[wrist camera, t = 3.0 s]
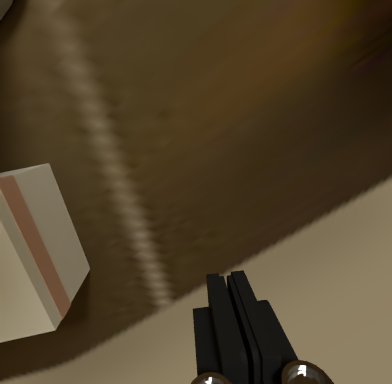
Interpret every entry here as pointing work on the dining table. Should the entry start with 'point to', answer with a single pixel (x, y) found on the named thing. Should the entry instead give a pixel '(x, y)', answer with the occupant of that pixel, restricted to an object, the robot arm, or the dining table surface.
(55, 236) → the carton
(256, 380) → the robot arm
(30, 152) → the dining table surface
